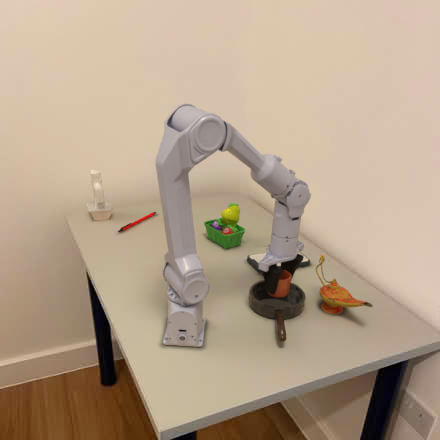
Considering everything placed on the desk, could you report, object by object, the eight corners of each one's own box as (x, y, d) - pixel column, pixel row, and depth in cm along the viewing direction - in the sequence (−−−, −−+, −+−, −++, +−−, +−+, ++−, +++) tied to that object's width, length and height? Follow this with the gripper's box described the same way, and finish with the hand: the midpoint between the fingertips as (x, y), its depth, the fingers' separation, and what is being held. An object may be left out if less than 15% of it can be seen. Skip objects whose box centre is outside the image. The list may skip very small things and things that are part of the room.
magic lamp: (353, 336, 94) (364, 293, 88) (300, 296, 107) (307, 255, 101) (376, 328, 97) (388, 285, 91) (322, 289, 110) (329, 250, 104)
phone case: (294, 252, 128) (245, 260, 122) (294, 247, 127) (245, 254, 121) (311, 266, 121) (260, 275, 115) (312, 261, 120) (261, 269, 114)
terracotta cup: (290, 299, 100) (292, 281, 97) (266, 298, 100) (268, 279, 97) (288, 287, 104) (290, 269, 101) (265, 286, 104) (267, 268, 102)
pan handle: (274, 313, 98) (275, 307, 97) (282, 314, 98) (283, 307, 97) (277, 343, 89) (278, 337, 88) (286, 344, 89) (287, 337, 88)
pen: (117, 232, 134) (117, 229, 133) (155, 213, 148) (155, 209, 147) (119, 233, 133) (119, 229, 133) (157, 213, 148) (157, 210, 147)
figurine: (91, 224, 139) (85, 177, 131) (87, 213, 146) (81, 167, 138) (114, 221, 141) (110, 175, 133) (109, 210, 148) (104, 166, 140)
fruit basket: (202, 237, 133) (202, 202, 127) (225, 231, 138) (226, 196, 132) (225, 252, 126) (227, 214, 120) (248, 244, 130) (251, 208, 124)
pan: (306, 322, 98) (308, 310, 96) (249, 318, 98) (250, 306, 97) (300, 291, 109) (301, 280, 107) (248, 288, 109) (249, 277, 107)
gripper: (288, 218, 101) (281, 270, 108) (249, 237, 91) (244, 292, 99) (315, 227, 97) (306, 280, 104) (277, 248, 88) (270, 305, 95)
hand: (278, 287), depth 101 cm, fingers closed on terracotta cup, 5 cm apart
